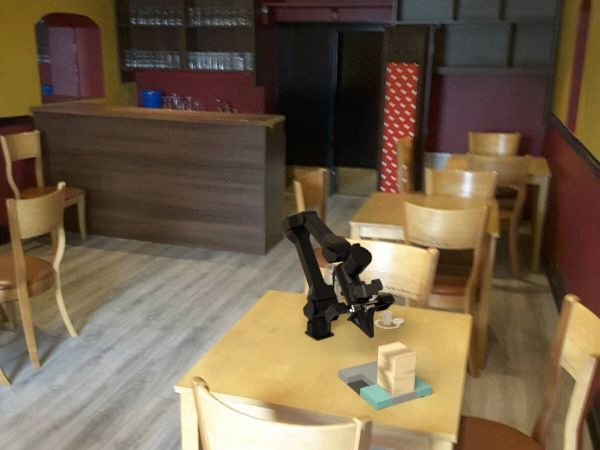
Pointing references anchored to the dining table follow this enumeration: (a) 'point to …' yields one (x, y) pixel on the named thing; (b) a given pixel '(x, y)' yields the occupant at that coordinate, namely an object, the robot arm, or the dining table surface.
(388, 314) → the teacup and saucer
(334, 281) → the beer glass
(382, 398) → the mint green slab
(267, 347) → the dining table surface
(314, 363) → the dining table surface
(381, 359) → the maple block
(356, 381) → the board
